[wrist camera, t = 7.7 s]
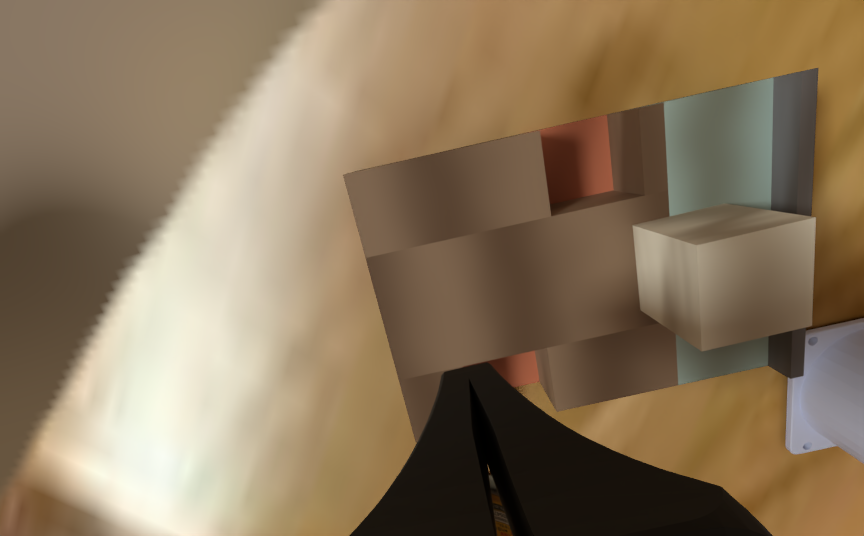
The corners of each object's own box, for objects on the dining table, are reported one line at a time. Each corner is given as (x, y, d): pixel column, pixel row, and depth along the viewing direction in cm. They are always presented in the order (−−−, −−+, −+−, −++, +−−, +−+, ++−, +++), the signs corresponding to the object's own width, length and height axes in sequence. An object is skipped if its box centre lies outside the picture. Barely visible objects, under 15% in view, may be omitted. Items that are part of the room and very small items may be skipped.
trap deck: (730, 86, 19) (818, 67, 15) (732, 335, 22) (803, 375, 18) (353, 172, 19) (337, 176, 15) (415, 405, 22) (416, 460, 18)
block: (724, 203, 17) (815, 217, 13) (727, 289, 18) (812, 326, 14) (632, 225, 17) (696, 245, 13) (640, 310, 18) (701, 351, 14)
